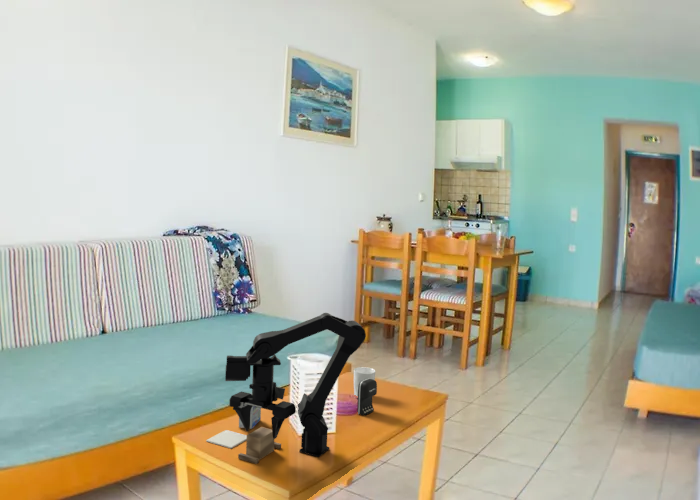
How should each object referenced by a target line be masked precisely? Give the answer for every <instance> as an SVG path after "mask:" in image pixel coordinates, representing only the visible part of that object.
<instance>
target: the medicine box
mask: <svg viewBox="0 0 700 500" xmlns="http://www.w3.org/2000/svg"><path fill="white" fill-rule="evenodd" d="M250 394H252V392H250ZM261 410H262V408H259V407H255V406H252V408H251V411H250V430H252V429H254V427H255V426H256V425H257V424H258V423H259V422H260V421H261V415H262V411H261ZM238 428H241V429H245V428H244V426H243V424H242V422H241V420H240V418H239V417H238Z"/></svg>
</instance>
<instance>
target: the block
mask: <svg viewBox="0 0 700 500" xmlns="http://www.w3.org/2000/svg"><path fill="white" fill-rule="evenodd" d="M246 435H247V440H246V445H245V449H246V450H245V452H246V453H245V454H246V455H249V456H253V457H256V458H259V461H260V460H262V459H263V458H265V457H266V456H269V454H271V453H273V452H274V451H275V448H274V442H275V439H273V434H272V428H267V427H264V426H260V427H259V428H257V429H255V430H254V431H251V432H250V433H248V434H246Z"/></svg>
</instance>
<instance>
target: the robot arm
mask: <svg viewBox="0 0 700 500" xmlns="http://www.w3.org/2000/svg"><path fill="white" fill-rule="evenodd" d="M326 330H327V331H330V332H331V333H334V334H336V335H337V336H338V338H337V343H336V348H335V350H334V352H333V354H332V356H331V357H330V359H329V361H328V363H327V364H326V367H325V369H324V370H323V373H322V374H321V376H320V378H319V380H318V382H317V383H316V385H315V387H314V389H313V390H312V392H311V393H309V394H307V393H303V395H302V398H301V401H299V403H297V407H296V405H295V404H294V402H293V403H292V402H288V401H284V397H285V392H286V388H284V387H280V386H279V387H278V386H277V382H275V381H274V374H275V373H274V369H275V368H274V367H275V366H281V365H282V363H281V360H280V359H279V358H278V356H277V355H276V354H277V353H280V352H281V351H282V350H283V349H284V348H286V347H287V346H289V345H290V344H293V343H297V342H299V341H301V340H304V339H306V338H308V337H311V336H314V335H316V334H319V333H321V332H323V331H326ZM366 336H367V333H366V331H365V328H363V326H361V324H360V323H359V322H358V321H356V320H345V319H343V318H340V317H338V316H334V315H332V314H330V313H328V312H323V313H321V314H320V315H318V316H315V317H313V318H310V319H307V320H305V321H303V322H300V323H297V324H294V325H292V326H290V327H286V328H285V329H281V330H272V331H267V332H262V333H261V332H260V333H259V334H257V335H256V336H255V337H254V339H253V342H252V346H251V347H250V348H249V350H247V352H246V353H245V355H241V356H240V355H238V356H237V355H226V364H225V374H224V376H225V380H224V381H225V382H245V381H247V380H248V379H249V378H251V366H252V379H251V380H252V381H251V382H252V383H250V384H249V389H251V392H250V393H252V394H250V393H249V392H246V391H243V390H242V391H239V392H236V393H235V394H232V395H231V396H230V398H229V402H228V403H229V404H228V406H229V407H231V408H232V410H233V411H235V413H236V415H237V416H238V419H239V418H240V420H241V422H242V424H243V426H244V428H243V429H244V430H245V432H249V431H250V430H251V429H250V411H251V408H252V406H255V407H259V408H261V409H265V410H269V411H272V412H271V414H272V417H270V418H271V419H270V421H271V430H272V434H273V439H274V440H275V439H277V437H278V435H279V433H280V430H281V429H282V426H283V423H284V422H285V420H286V419H288V418H289V417H291V416H293V415H295V414H296V411H297V414H298V418H299V421H300V424H301V426H302V427H303V429H302V433H301V442H300V443H301V445H300V446H301V448H299V453H302V454H306V455H310V456H313V457H316V458H317V457H318V458H319V457H321V456H322V455H323V454H325V453H326V452H327V451H330V447H329V446H328V431H329V427H328V425H327V423H326V420H325V417H324V416H323V415H324V412H325V406H326V402H327V400H328V397H329V395H330V394H331V391H332V390H333V388H334V386H335V384H336V382H337V380H338V378H339V377H340V375H341V373H342V371H343V369H344V367H345V366H346V364H347V362H348V360H349V359H350V357H351V355H353V354H354V353H355V352H356V351H357V350H358V349H359V348H360V347H361V345H362V344H363V343H364V341H365V340H366ZM278 399H280V400H282V401H281V402H279V403H273V402H277V401H278ZM296 408H297V410H296Z"/></svg>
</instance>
